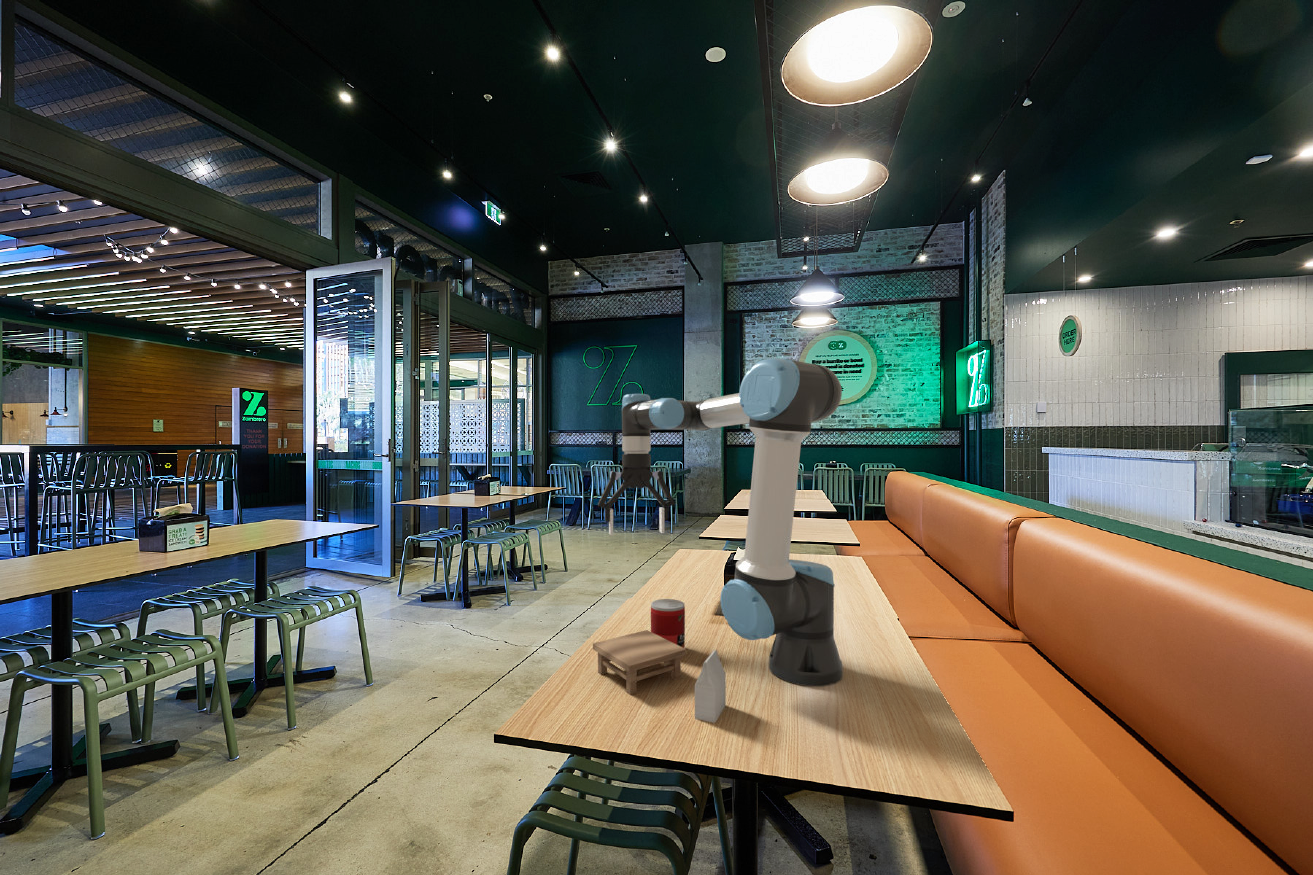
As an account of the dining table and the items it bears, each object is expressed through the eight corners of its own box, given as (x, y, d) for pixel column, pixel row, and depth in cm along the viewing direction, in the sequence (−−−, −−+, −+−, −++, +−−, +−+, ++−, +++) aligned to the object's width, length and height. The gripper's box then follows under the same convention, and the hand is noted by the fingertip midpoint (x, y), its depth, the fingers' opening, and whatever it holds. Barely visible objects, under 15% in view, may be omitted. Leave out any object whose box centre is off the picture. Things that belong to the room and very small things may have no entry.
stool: (686, 678, 109) (686, 649, 109) (629, 697, 100) (629, 665, 101) (646, 656, 120) (646, 629, 120) (592, 671, 112) (592, 643, 112)
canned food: (685, 657, 120) (685, 608, 120) (650, 656, 120) (650, 608, 120) (684, 644, 127) (684, 598, 127) (651, 644, 127) (651, 598, 128)
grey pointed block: (725, 705, 98) (725, 651, 98) (714, 723, 92) (714, 665, 92) (706, 701, 99) (706, 648, 99) (694, 718, 93) (694, 661, 93)
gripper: (678, 452, 146) (679, 529, 146) (587, 453, 141) (588, 532, 140) (685, 452, 139) (686, 533, 138) (590, 453, 134) (590, 537, 133)
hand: (636, 533), depth 139 cm, fingers open, 13 cm apart
